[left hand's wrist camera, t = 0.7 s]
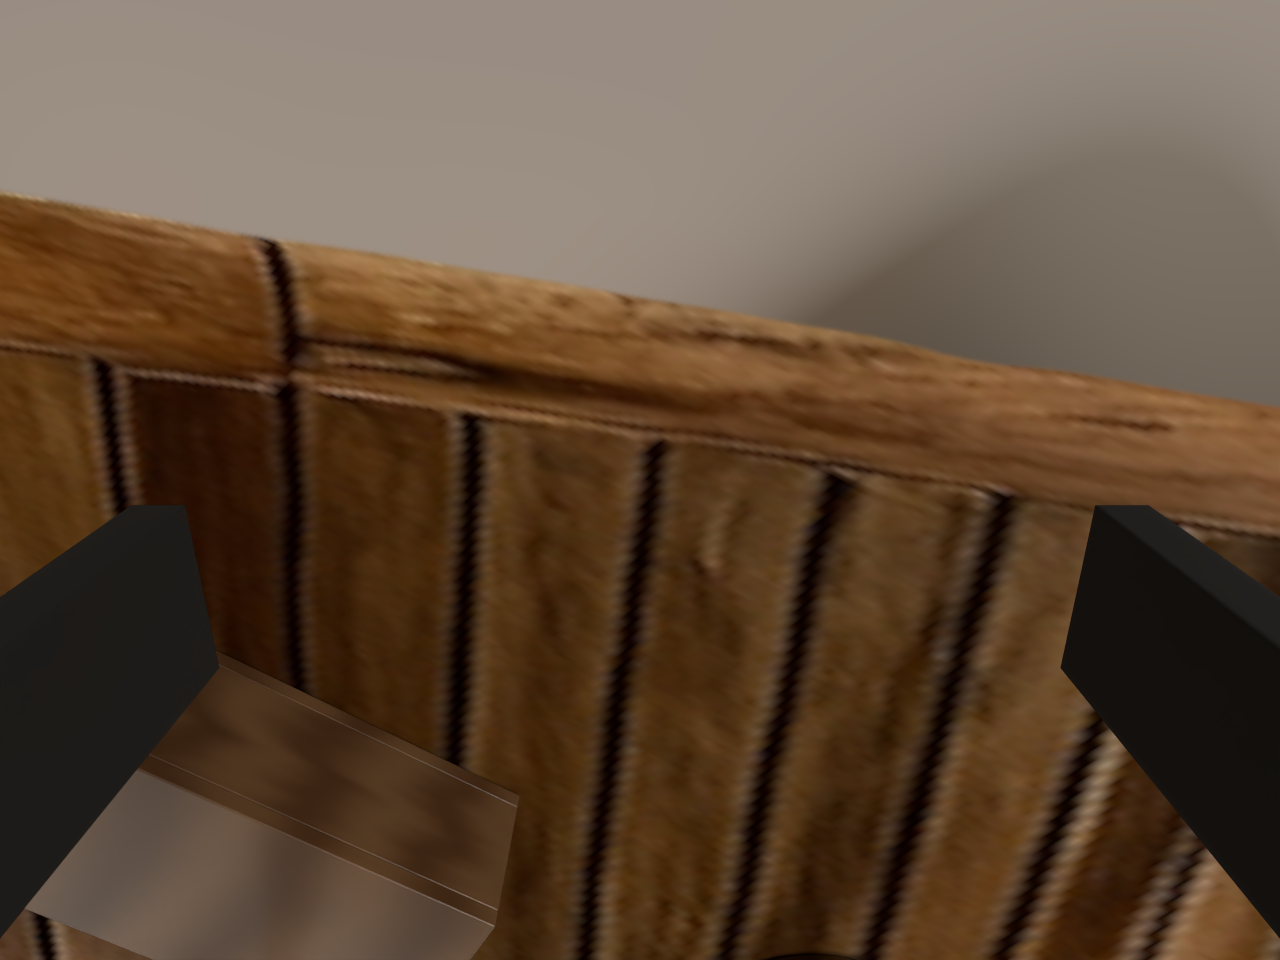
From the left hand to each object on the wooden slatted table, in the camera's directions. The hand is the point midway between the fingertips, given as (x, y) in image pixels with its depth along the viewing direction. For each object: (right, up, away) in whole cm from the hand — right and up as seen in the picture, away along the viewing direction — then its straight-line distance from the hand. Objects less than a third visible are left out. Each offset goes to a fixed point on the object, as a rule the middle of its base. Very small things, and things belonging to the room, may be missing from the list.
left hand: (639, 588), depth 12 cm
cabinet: (-18, -15, +35) cm, 42 cm away
